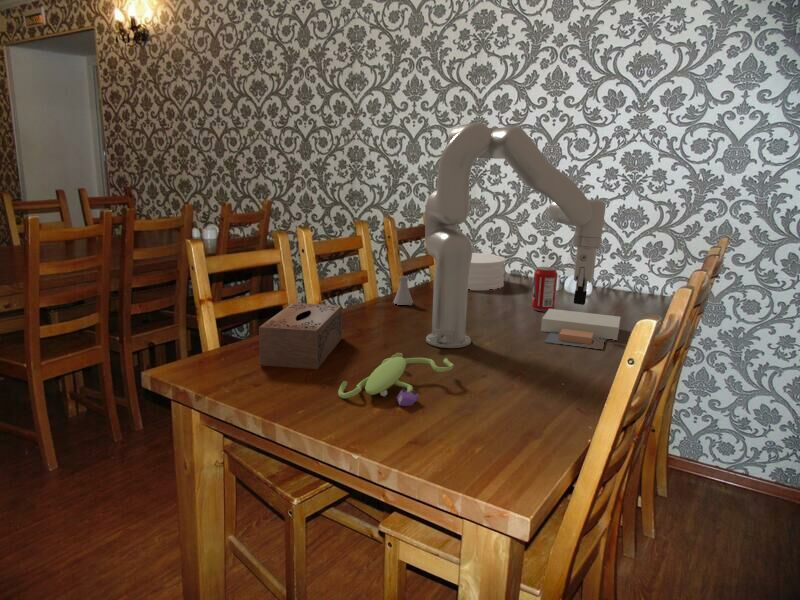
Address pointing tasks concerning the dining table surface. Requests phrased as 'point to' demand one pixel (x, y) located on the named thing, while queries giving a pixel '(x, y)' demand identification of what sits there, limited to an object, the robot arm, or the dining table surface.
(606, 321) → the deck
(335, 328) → the tissue box cover
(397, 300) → the flask
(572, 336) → the tile
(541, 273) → the soda can
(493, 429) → the dining table surface
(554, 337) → the mat
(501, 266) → the plate stack
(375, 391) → the figurine
